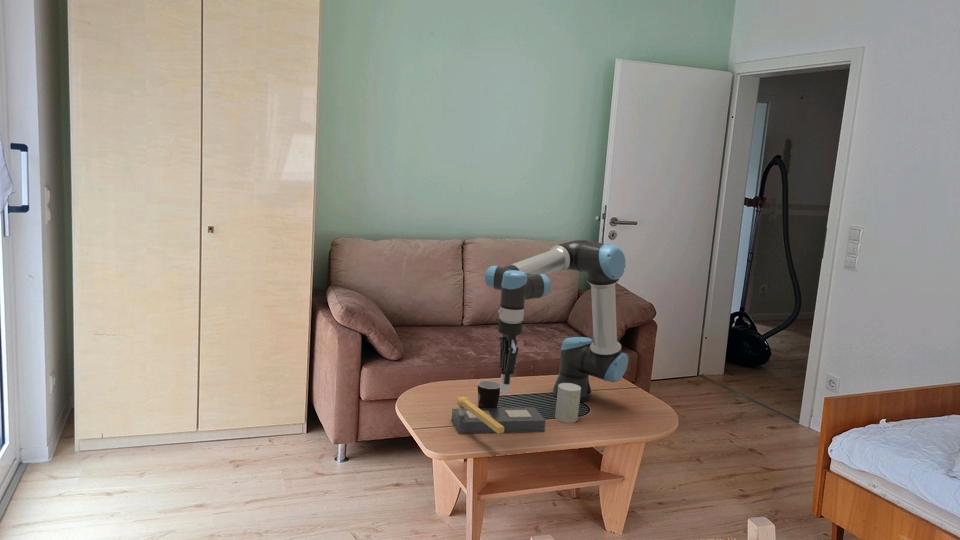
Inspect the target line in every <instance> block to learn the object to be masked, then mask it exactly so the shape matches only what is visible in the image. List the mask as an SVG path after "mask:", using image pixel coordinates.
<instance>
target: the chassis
mask: <svg viewBox="0 0 960 540" xmlns="http://www.w3.org/2000/svg"><path fill="white" fill-rule="evenodd" d="M458 406H459V405H458ZM479 409H481V410H482V411H483V412H485V413H486V414H487V415H489V416H490V417H491V418H493V419H494V420H495V421H497V422H498V423H500V424H501V425H502V426H504V434H506V433H507V432H508V433H536V432H537V433H539V432H545V431H546V430H545V429H546V419H545V418H544V417H543V415H542V414H541V413H540V412H539V411H538V409H537V408H536V407H530V406H529V407H497V408H479ZM450 420H451V422H452V424H453V425H454V427H455V429H456V431H457V433H458V434H459V435H462V434H463V435H464V434H466V435H467V434H497V433H496V432H495V431H494V430H493V429H491V428H490V427H489V426H487V425H486V424H485V423H483V422H482V421H481V420H480V419H478V418H477V417H476V416H474V415H473V414H472V413H470V412H469V411H468V410H467V409H465V408H464V407H463V406H459V408H451V419H450Z"/></svg>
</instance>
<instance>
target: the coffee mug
mask: <svg viewBox="0 0 960 540" xmlns="http://www.w3.org/2000/svg"><path fill="white" fill-rule="evenodd" d="M500 384H501V382H498V381H495V380H480V381H478V382H477V402H478V403H477V405H478V406H477V407H478V408H498V405H499V400H500V395H501V393H500Z"/></svg>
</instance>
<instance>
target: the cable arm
mask: <svg viewBox="0 0 960 540" xmlns="http://www.w3.org/2000/svg"><path fill="white" fill-rule="evenodd" d="M456 403H457V406H463V407H464V408H465V409H467V410H468V411H469V412H470V413H472V414H473V415H474V416H476V417H477V418H478V419H480V420H481V421H482V422H483V423H485V424H486V425H487V426H489V427H490V428H491V429H493V430H494V431H495V432H496V433H495V434H503V433H504V426H502V425H501V424H500V423H498V422H497V421H495V420H494V419H493V418H491V417H490V416H489V415H487V414H486V413H485V412H483V411H482V410H481V409H479V408H478V406H477V405H475V404H474V403H472V402H471V401H470V400H469V397H467V396H458V397H457V402H456ZM504 434H505V433H504Z"/></svg>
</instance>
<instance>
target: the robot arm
mask: <svg viewBox="0 0 960 540" xmlns="http://www.w3.org/2000/svg"><path fill="white" fill-rule="evenodd" d="M626 264H627V263H626V257H625V253H624V252H623V250H622V249H621V248H620V247H619V246H616V245H612V244H610V243H602V242H597V241H596V242H595V241H590V240H588V239H587V240H586V239H575V240H571V241H565V242H563V243H559V244H556V245H554V246H552V247H551V248H550V249H549V250H548V251H545V252H543V253H542V252H541V253H539V254H537V255H534V256H531V257H529V258H525V259H523V260H519V261H516V262H514V263H511V264H509V265H506V266H499V265H492V266H489V267H488V268H487V270H486V271H485V273H484V283H485V285H486V286H487V287H488V288H491V289H493V290H496V291H499V292H501V294H500V304H499V309H498V310H497V311H498V314H499V317H498V318H499V320H498V324H497V325H498V326H497V331H498V333H500V334H501V335H502V336H499V368H500V371H501V372H500V374H501V376H500V395H501V394H503V395H504V394H510V389H511V379H512V378H511V377H512V375H514V374H515V367H516V362H517V356H518V353H519V350H520V349H519V347H517V343H518V340H517V336H518V335H521V334H522V333H523V325H524V323H523V321H524V316H525V302H526V301H528V300H534V299H540V298H544V297H546V296H547V295H548V294H549V293H550V292H551V289H552V283H551V280H550V278H549V276H548V275H549V274H551V273H555V272H556V271H557V272H565V271H575V272H580V273H583V274H585V277H586V283H588V284H589V285H590V289H591V290H590V291H591V294H590V295H591V311H592V332H593V335H592V336H593V339H592V338H590V337H587V336H586V337H585V336H572V337H567V338H564V339H563V340H562V343H561V348H560V361H559V369H558V371H559V372H558V375H557V377H556V380H555V382H554V384H553V387H552V395H553V396H555V397H556V398H557V392H558V385H559V384H561V383H572V384H576V385H578V386H580V387H581V393H580V402H579V403H581V402H587V401H590V399H591V398H592V388H591V384H590V379H589V377H590V376H591V377H594V378H597V379H601V380H604V382H610V383H616V382H619V381H620V380H621V379H622V378H623V376H624V375H625V373H626V371H627V369H628V366H629V365H628V364H629V357H628V355H627V354H626V353H625V352H622V344H621V343H620V342H619V341H618V336H617V335H618V334H617V333H618V331H617V330H618V329H617V306H616V305H617V303H616V301H617V299H616V284H617V283H618V282H619V280H620V279H621V278H622V277H623V275H624V273H625V269H626V266H627V265H626Z"/></svg>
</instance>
